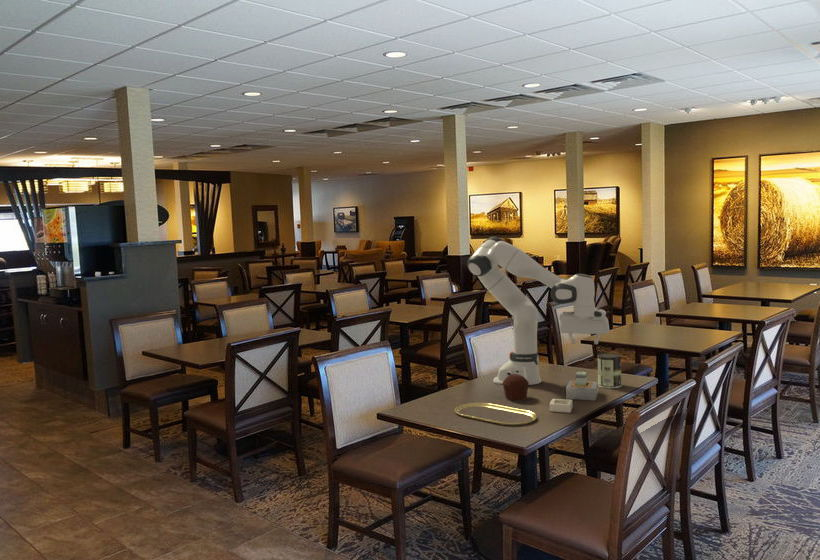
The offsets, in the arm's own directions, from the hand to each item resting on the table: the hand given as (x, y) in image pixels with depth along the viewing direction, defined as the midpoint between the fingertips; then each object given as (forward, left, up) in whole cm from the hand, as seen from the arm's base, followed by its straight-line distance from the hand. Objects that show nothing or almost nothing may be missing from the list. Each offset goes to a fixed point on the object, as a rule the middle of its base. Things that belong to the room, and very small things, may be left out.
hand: (584, 343), depth 275 cm
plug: (-2, 0, -22) cm, 22 cm away
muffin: (-28, -10, -23) cm, 38 cm away
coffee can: (+9, +19, -23) cm, 31 cm away
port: (-1, -1, -23) cm, 23 cm away
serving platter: (-31, -37, -23) cm, 54 cm away
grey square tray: (-7, -23, -23) cm, 33 cm away
